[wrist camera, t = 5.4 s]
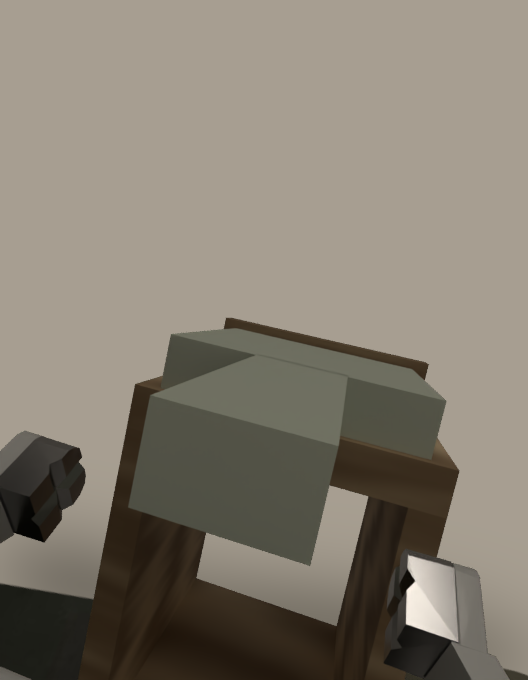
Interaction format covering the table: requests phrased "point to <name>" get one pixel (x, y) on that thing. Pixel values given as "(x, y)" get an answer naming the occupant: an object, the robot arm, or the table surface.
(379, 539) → the rack
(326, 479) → the grey paddle board
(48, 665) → the table surface
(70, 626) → the table surface
